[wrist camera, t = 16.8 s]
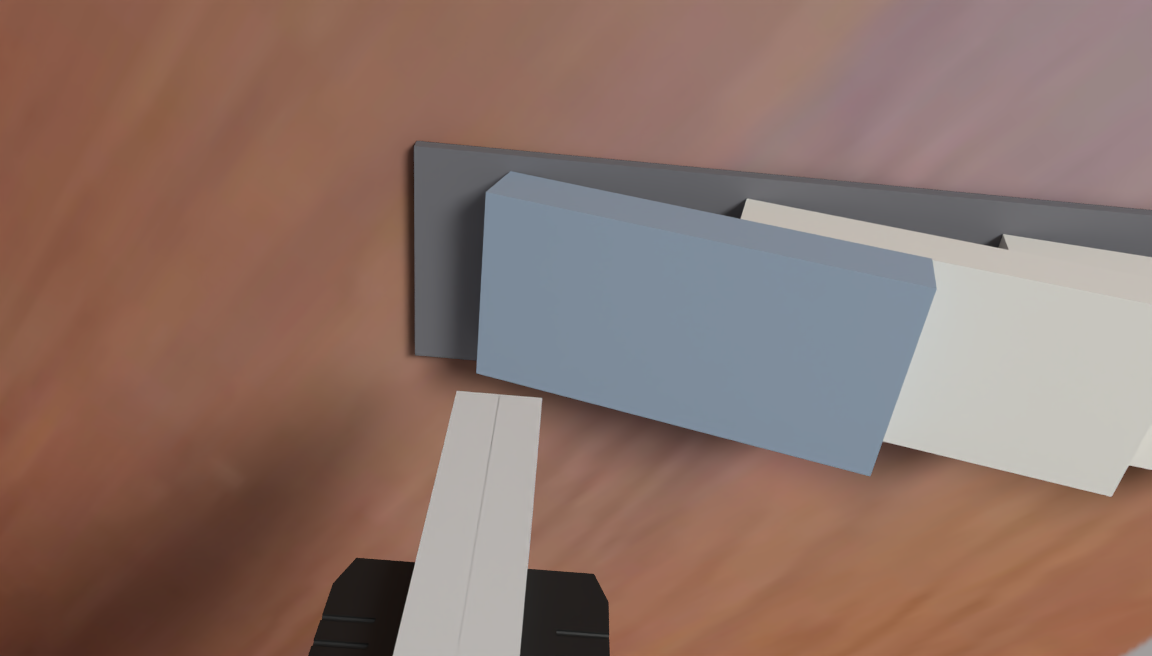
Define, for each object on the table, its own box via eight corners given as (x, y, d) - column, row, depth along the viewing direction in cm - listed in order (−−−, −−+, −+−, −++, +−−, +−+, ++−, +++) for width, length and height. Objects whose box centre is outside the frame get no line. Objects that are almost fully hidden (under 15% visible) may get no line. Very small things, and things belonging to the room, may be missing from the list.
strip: (417, 347, 24) (415, 355, 24) (417, 141, 21) (414, 146, 21) (1316, 426, 25) (1325, 435, 24) (1439, 237, 22) (1452, 243, 21)
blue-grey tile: (476, 373, 22) (870, 476, 20) (486, 191, 20) (936, 288, 18) (498, 344, 24) (870, 437, 21) (510, 170, 21) (932, 258, 19)
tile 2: (701, 397, 22) (1111, 497, 21) (739, 221, 20) (1210, 316, 18) (710, 366, 24) (1095, 457, 22) (746, 198, 21) (1185, 284, 19)
